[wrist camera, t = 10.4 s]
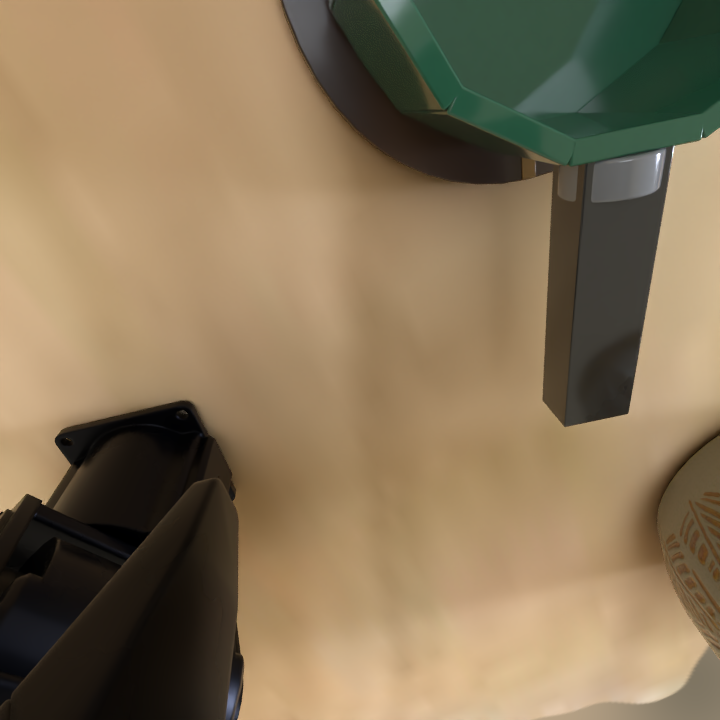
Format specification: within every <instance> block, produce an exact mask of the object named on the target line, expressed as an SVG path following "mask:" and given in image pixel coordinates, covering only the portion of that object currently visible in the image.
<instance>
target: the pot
mask: <svg viewBox="0 0 720 720" xmlns="http://www.w3.org/2000/svg"><path fill="white" fill-rule="evenodd" d="M328 1H329V7H330V10H332V11H333V13H332V15H333V17H334V19H335V20H336V21H337V23H338V24H339V26H340V27H341V29H342V30H343V32H344V33H345V35H346V36H347V39H348V41H349V43H350V44H351V46H352V48H353V49H354V51H355V53H356V54H357V56H358V58H359V59H360V61H361V63H362V64H363V66H364V68H365V69H366V70H367V71H368V73H369V74H370V75H371V77H372V78H373V79H374V80H375V82H376V83H377V84H378V86H379V87H380V88H381V89H382V90H383V91H384V92H385V93H386V95H387V96H388V98H389V99H390V101H391V102H392V104H393V105H394V107H395V108H396V110H398V111H401V114H403V115H405V116H407V117H410V118H412V119H414V120H417V121H419V122H421V123H423V124H426V125H427V126H429V127H431V128H433V129H435V130H437V131H439V132H442V133H445V134H447V135H450V136H453V137H456V138H458V139H461V140H463V141H465V142H467V143H470V144H472V145H474V146H477V147H479V148H481V149H484V150H488V151H493V152H498V153H503V154H507V155H512V156H517V157H522V158H527V159H531V160H536V161H541V162H546V163H550V164H553V184H552V206H551V227H550V249H549V270H548V292H547V313H546V335H545V357H544V378H543V401H544V403H545V404H546V405H547V406H548V408H549V409H550V410H551V411H552V412H553V414H554V415H555V416H556V417H557V418H558V420H559V421H560V422H561V423H562V424H563V426H564V427H568V426H572V425H577V424H582V423H587V422H591V421H596V420H601V419H606V418H610V417H615V416H620V415H625V414H628V412H629V406H630V401H631V395H632V389H633V383H634V377H635V372H636V366H637V360H638V354H639V348H640V343H641V337H642V331H643V325H644V319H645V314H646V308H647V302H648V296H649V290H650V284H651V279H652V273H653V267H654V261H655V255H656V250H657V244H658V238H659V232H660V226H661V221H662V215H663V209H664V203H665V197H666V192H667V186H668V180H669V174H670V168H671V163H672V157H673V151H674V146H676V145H681V144H686V143H691V142H696V141H699V140H701V138H706V137H708V136H709V135H710V134H712V133H713V132H714V131H716V130H717V129H718V128H720V0H328Z"/></svg>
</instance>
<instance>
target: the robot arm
mask: <svg viewBox="0 0 720 720" xmlns="http://www.w3.org/2000/svg"><path fill="white" fill-rule="evenodd" d="M180 410H184V411H186V412H187V413H188V414H182V413H180ZM66 438H68V439H71V440H72V441H69V440H67V439H66ZM55 443H56V445H57V446H58V448H59V449H60V450H61V452H62V453H63V454H64V456H65V457H66V458H67V460H68V461H69V462H70V464H71V465H72V466H71V467H70V469H69V470H68V472H67V473H66V475H65V476H64V478H63V479H62V481H61V482H60V484H59V485H58V487H57V488H56V490H55V491H54V493H53V494H52V496H51V497H50V499H49V500H48V502H47V504H46V505H43V504H41V503H42V500H40V499H38V498H35V497H33V496H31V495H29V494H26V495H25V496H24V497H23V498H22V500H21V501H20V502H19V503H18V504H17V505H16V506H15V507H14V508H13V509H12V510H9V509H7V510H6V511H4V512H1V513H0V720H237V719H238V715H239V710H240V706H241V702H242V693H243V673H244V660H243V656H242V655H241V653H240V645H239V637H238V630H237V622H236V621H237V610H238V514H237V511H236V508H235V506H234V504H233V502H232V501H233V500H234V498H235V494H236V489H235V487H234V485H233V483H232V481H231V478H232V472H231V470H230V468H229V466H228V464H227V462H226V460H225V458H224V456H223V454H222V452H221V450H220V448H219V446H218V444H217V442H216V440H215V439H214V438H213V437H211V436H209V435H208V433H207V431H206V429H205V427H204V425H203V423H202V421H201V419H200V417H199V415H198V413H197V411H196V409H195V407H194V406H193V404H191V403H190V402H187V401H179V402H175V403H170V404H166V405H162V406H158V407H154V408H149V409H145V410H141V411H137V412H133V413H129V414H124V415H120V416H116V417H112V418H108V419H103V420H99V421H95V422H91V423H87V424H83V425H78V426H74V427H70V428H66V429H63V430H61V432H60V433H59V434H58V435H57V437H56V438H55Z"/></svg>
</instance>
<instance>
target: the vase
mask: <svg viewBox="0 0 720 720" xmlns="http://www.w3.org/2000/svg"><path fill="white" fill-rule="evenodd" d="M657 528H658V534H659V538H660V543H661V549H662V553H663V558H664V562H665V565H666V569H667V572H668V575H669V577H670V580H671V582H672V585H673V587H674V589H675V592H676V594H677V596H678V598H679V600H680V602H681V604H682V606H683V608H684V609H685V611H686V613H687V614H688V616H689V617H690V619H691V620H692V622H693V623H694V625H695V626H696V628H697V629H698V630H699V632H700V633H701V635H702V636H703V637H704V639H705V640H706V642H707V643H708V644H709V646H710V647H711V649H712V650H713V651H714V653H715V654H716V656H717V657H718V658H719V660H720V435H718V436H717V437H715V438H714V439H713V440H711V441H710V442H709V443H707V444H706V445H705V446H703V447H702V448H701V449H700V450H699V451H698V452H697V453H695V454H694V455H693V456H692V457H691V458H690V459H689V460H688V461H687V462H686V463H685V464H684V465H683V467H682V468H681V469H680V470H679V471H678V472H677V474H676V475H675V476H674V478H673V479H672V481H671V482H670V483H669V485H668V487H667V489H666V491H665V492H664V494H663V496H662V499H661V502H660V505H659V508H658V514H657Z"/></svg>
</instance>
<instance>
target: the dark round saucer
mask: <svg viewBox="0 0 720 720" xmlns="http://www.w3.org/2000/svg"><path fill="white" fill-rule="evenodd" d="M280 1H281V4H282V8H283V11H284V15H285V17H286V20H287V22H288V25H289V27H290V30H291V32H292V35H293V37H294V39H295V42H296V44H297V47H298V49H299V51H300V53H301V55H302V57H303V59H304V61H305V62H306V64H307V66H308V68H309V70H310V72H311V74H312V75H313V77H314V79H315V81H316V82H317V84H318V85H319V87H320V88H321V89H322V91H323V92H324V94H325V95H326V97H327V98H328V99H329V101H330V102H331V104H332V105H333V107H334V108H335V109H336V110H337V111H338V112H339V113H340V114H341V116H342V117H343V118H344V119H345V120H346V121H347V122H348V123H349V124H350V125H351V127H352V128H353V129H354V130H355V131H357V132H358V133H359V134H360V135H361V136H363V137H364V138H365V139H366V140H367V141H368V142H370V143H371V144H372V145H373V146H374V147H376V148H377V149H379V150H380V151H382V152H384V153H385V154H387V155H388V156H390V157H391V158H393V159H395V160H396V161H398V162H400V163H402V164H404V165H406V166H408V167H410V168H413V169H415V170H417V171H420V172H422V173H424V174H426V175H430V176H433V177H437V178H441V179H444V180H448V181H452V182H461V183H469V184H503V183H509V182H515V181H521V180H526V179H530V178H533V177H537V176H540V175H543V174H546V173H549V172H553V164H550V163H546V162H541V161H536V160H531V159H527V158H522V157H517V156H512V155H507V154H503V153H498V152H493V151H488V150H484V149H481V148H479V147H477V146H474V145H472V144H470V143H467V142H465V141H463V140H461V139H458V138H456V137H453V136H450V135H447V134H445V133H442V132H439V131H437V130H435V129H433V128H431V127H429V126H427V125H426V124H423V123H421V122H419V121H417V120H414V119H412V118H410V117H407V116H405V115H403V114H401V111H398V110H396V108H395V107H394V105H393V104H392V102H391V101H390V99H389V98H388V96H387V95H386V93H385V92H384V91H383V90H382V89H381V88H380V87H379V86H378V84H377V83H376V82H375V80H374V79H373V78H372V77H371V75H370V74H369V73H368V71H367V70H366V69H365V68H364V66H363V64H362V63H361V61H360V59H359V58H358V56H357V54H356V53H355V51H354V49H353V48H352V46H351V44H350V43H349V41H348V39H347V36H346V35H345V33H344V32H343V30H342V29H341V27H340V26H339V24H338V23H337V21H336V20H335V19H334V17H333V15H332V13H333V11H332V10H330V7H329V1H328V0H280Z"/></svg>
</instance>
